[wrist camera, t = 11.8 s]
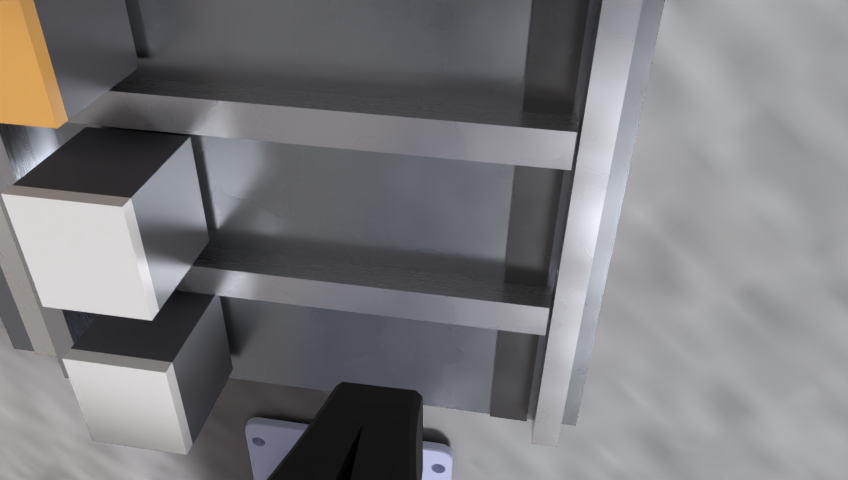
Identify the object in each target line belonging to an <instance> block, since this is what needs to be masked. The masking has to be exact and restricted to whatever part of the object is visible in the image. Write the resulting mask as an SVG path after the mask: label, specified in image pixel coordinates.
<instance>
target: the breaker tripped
mask: <svg viewBox="0 0 848 480" xmlns="http://www.w3.org/2000/svg"><path fill="white" fill-rule="evenodd" d="M138 68H139V64H138V59H137V54H136V50H135V45H134V40H133V36H132V31H131V27H130V22H129V17H128V13H127V8H126V3H125V0H0V123H5V124H16V125H26V126H36V127H47V128H57V129H58V128H59V127H60V126H62V125H63V124H64V123H66V122H67V121H68V120H70V119H71V118H72V117H74V116H75V115H76V114H78V113H79V112H80V111H82V110H83V109H84V108H86V107H87V106H88V105H90V104H91V103H92V102H94V101H95V100H96V99H98V98H99V97H100V96H102V95H103V94H104V93H106V92H107V91H108V90H110V89H111V88H112V87H114V86H115V85H116V84H118V83H119V82H120V81H122V80H123V79H124V78H126V77H127V76H128V75H130V74H131V73H132V72H134V71H135V70H136V69H138Z"/></svg>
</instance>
